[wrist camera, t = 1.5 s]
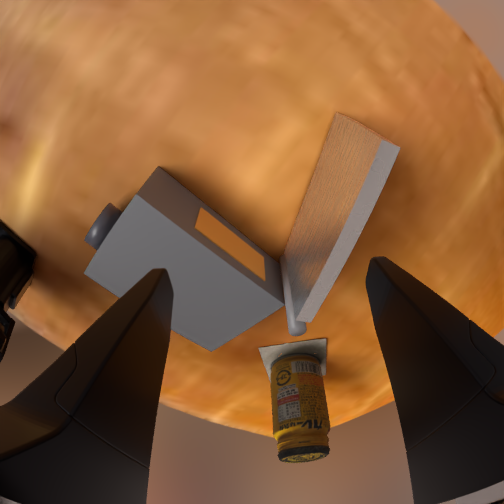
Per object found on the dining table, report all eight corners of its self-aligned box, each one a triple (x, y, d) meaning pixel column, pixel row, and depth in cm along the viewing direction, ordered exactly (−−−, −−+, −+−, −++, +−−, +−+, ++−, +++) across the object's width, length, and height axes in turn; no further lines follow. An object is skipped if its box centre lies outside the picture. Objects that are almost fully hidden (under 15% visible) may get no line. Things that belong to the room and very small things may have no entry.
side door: (336, 112, 16) (382, 139, 10) (358, 120, 16) (411, 152, 11) (284, 250, 22) (295, 320, 17) (303, 254, 22) (320, 323, 17)
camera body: (94, 229, 21) (54, 289, 15) (155, 141, 17) (110, 184, 11) (219, 314, 27) (214, 381, 21) (295, 259, 23) (310, 330, 17)
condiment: (270, 381, 35) (274, 467, 25) (258, 346, 30) (261, 452, 20) (325, 373, 34) (340, 458, 24) (325, 335, 29) (346, 440, 20)
